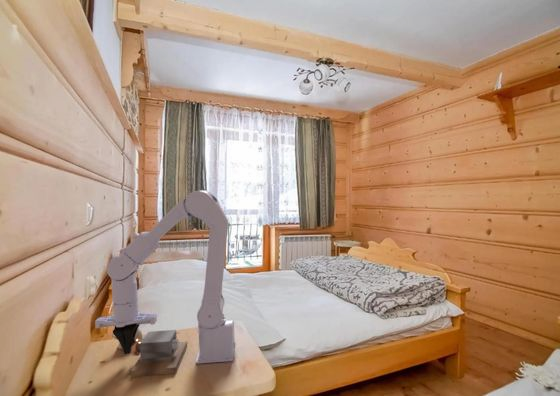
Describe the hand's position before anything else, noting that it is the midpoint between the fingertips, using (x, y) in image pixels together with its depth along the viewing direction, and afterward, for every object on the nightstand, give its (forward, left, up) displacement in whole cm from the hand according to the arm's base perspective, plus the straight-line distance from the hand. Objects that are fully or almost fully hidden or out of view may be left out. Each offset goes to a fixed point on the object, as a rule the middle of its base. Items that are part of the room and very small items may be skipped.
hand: (128, 352), depth 78 cm
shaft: (-7, 0, -1) cm, 7 cm away
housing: (-8, 0, -3) cm, 9 cm away
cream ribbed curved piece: (+3, -9, -3) cm, 10 cm away
